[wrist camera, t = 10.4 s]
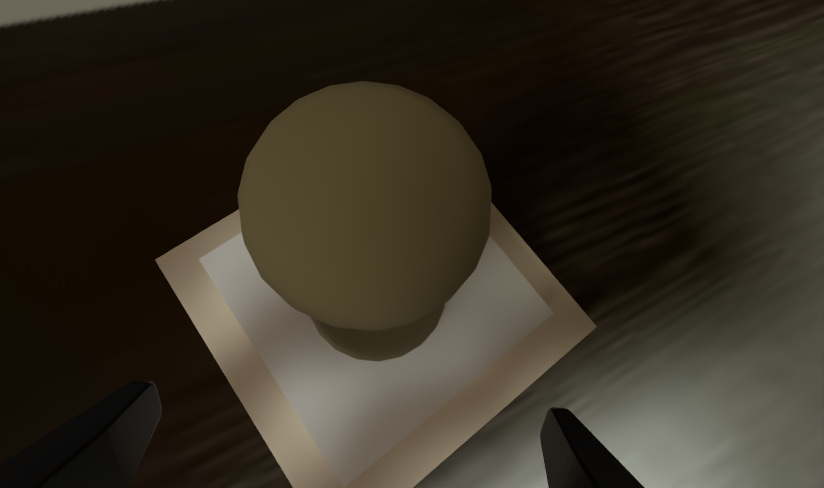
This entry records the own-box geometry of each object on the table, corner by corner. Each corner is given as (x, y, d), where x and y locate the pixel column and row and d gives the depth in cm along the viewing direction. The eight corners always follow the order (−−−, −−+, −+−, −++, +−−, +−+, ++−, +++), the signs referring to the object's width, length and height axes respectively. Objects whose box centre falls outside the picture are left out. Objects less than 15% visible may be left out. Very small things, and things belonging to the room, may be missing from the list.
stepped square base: (576, 330, 22) (617, 322, 18) (340, 534, 18) (328, 578, 14) (407, 128, 25) (412, 84, 21) (177, 270, 21) (132, 248, 17)
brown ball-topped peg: (306, 225, 18) (200, 28, 8) (440, 220, 19) (512, 29, 8) (304, 366, 16) (163, 359, 6) (452, 357, 17) (562, 335, 6)
